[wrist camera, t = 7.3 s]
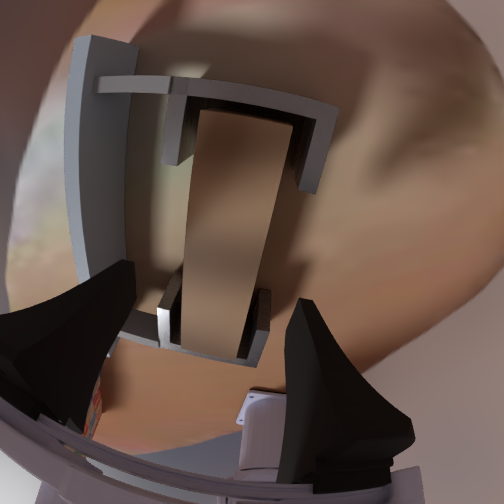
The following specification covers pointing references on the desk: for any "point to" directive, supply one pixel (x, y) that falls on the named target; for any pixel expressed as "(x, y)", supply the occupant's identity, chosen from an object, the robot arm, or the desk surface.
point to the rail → (228, 223)
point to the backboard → (103, 160)
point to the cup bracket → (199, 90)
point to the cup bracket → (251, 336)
